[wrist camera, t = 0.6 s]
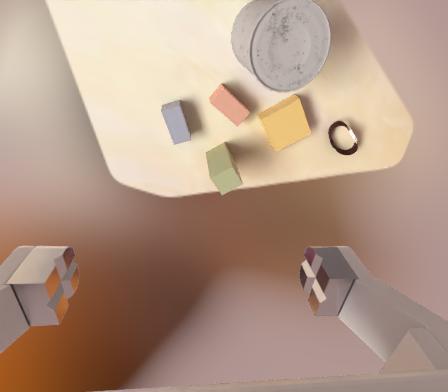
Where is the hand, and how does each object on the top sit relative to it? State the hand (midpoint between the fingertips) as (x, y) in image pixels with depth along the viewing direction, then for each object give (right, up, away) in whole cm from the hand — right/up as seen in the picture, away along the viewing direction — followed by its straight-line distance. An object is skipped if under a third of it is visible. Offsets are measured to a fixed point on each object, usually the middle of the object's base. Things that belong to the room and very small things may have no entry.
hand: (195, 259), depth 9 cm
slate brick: (-7, +15, +36) cm, 40 cm away
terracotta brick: (+2, +18, +36) cm, 40 cm away
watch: (+24, +14, +43) cm, 51 cm away
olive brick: (0, +10, +41) cm, 42 cm away
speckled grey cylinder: (+7, +26, +31) cm, 41 cm away
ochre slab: (+12, +16, +39) cm, 44 cm away
